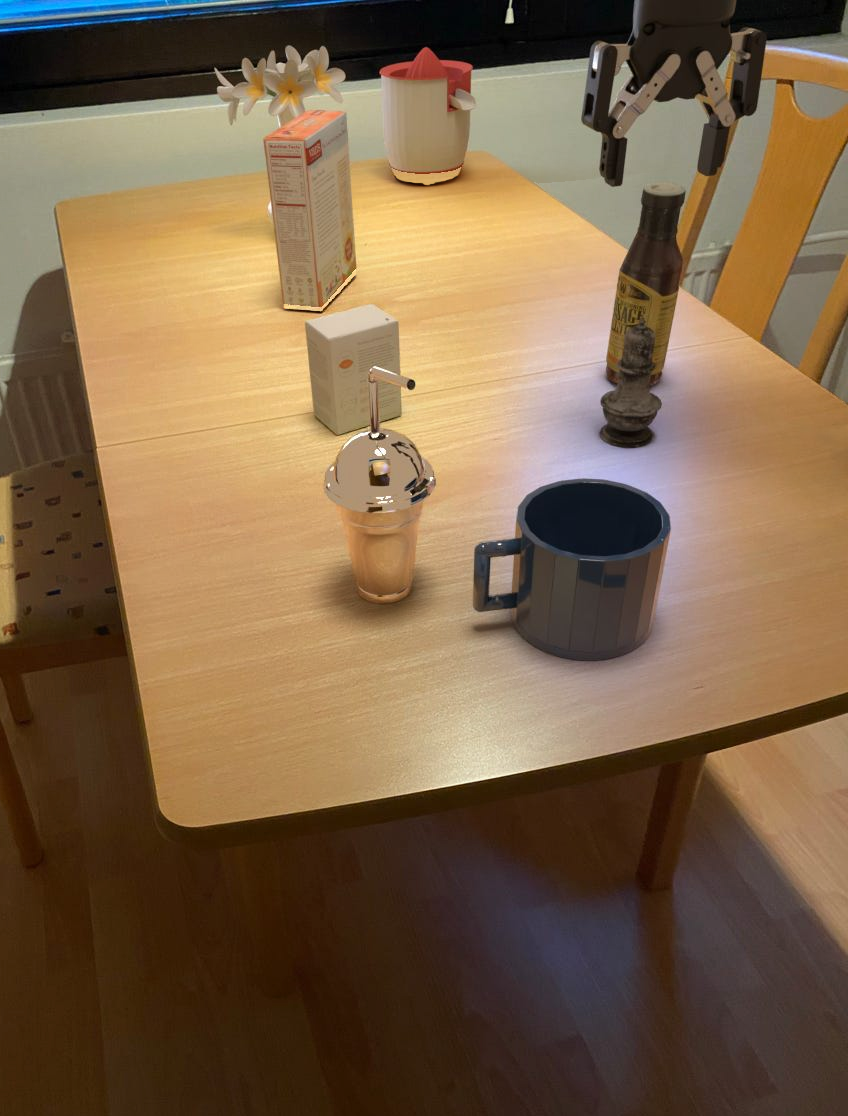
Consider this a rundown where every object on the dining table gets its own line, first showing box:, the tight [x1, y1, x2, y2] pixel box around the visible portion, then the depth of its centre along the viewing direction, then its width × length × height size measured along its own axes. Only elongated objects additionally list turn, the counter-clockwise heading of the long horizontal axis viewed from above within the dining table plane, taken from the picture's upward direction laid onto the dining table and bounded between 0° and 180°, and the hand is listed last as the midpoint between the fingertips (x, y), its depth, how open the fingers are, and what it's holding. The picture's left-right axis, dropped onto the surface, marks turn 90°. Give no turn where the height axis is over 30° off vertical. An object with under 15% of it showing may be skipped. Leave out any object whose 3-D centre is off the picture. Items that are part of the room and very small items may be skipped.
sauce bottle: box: [605, 181, 687, 387], centre depth 99 cm, size 7×6×20 cm
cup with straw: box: [322, 366, 437, 604], centre depth 72 cm, size 8×9×20 cm
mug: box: [472, 477, 672, 661], centre depth 72 cm, size 14×11×9 cm
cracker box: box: [262, 109, 357, 307], centre depth 124 cm, size 14×6×21 cm, turn 161°
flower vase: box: [214, 45, 346, 227], centre depth 142 cm, size 13×18×25 cm
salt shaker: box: [599, 317, 663, 449], centre depth 92 cm, size 6×6×12 cm
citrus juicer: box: [379, 46, 477, 174], centre depth 165 cm, size 16×17×20 cm
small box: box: [304, 303, 403, 436], centre depth 99 cm, size 8×6×10 cm
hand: (660, 179), depth 82 cm, fingers open, 8 cm apart
